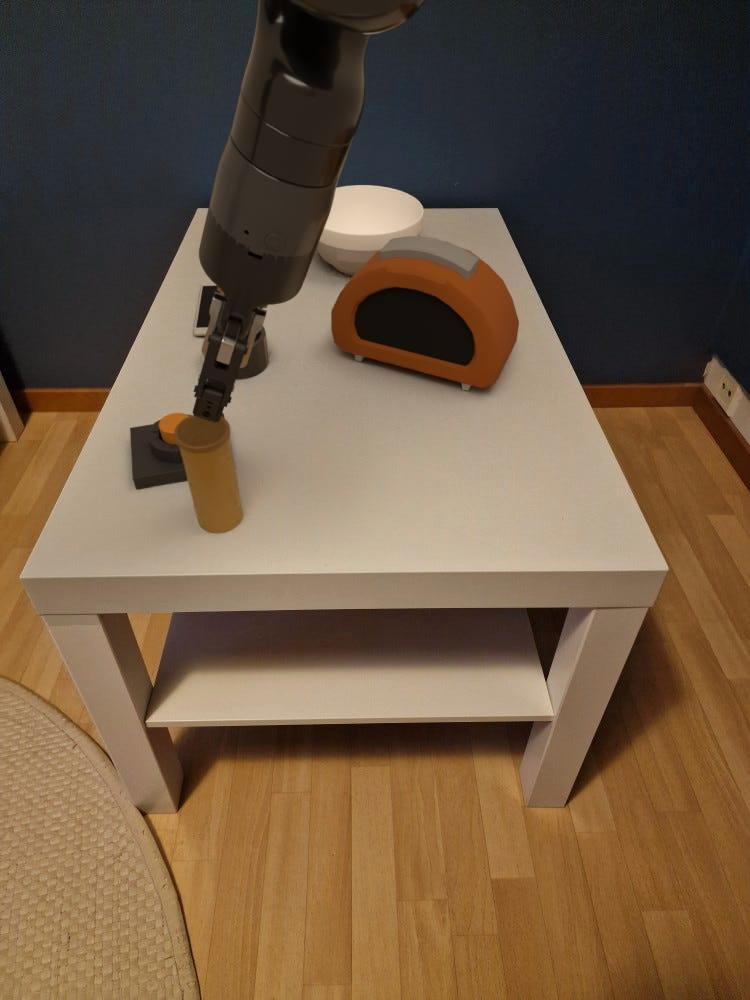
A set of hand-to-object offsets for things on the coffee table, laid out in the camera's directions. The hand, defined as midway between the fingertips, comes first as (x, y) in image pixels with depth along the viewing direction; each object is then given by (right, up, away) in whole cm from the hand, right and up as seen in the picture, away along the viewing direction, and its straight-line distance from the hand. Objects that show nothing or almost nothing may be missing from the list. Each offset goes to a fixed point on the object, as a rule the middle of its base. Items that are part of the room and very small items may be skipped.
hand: (217, 380), depth 58 cm
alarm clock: (+20, +9, +37) cm, 42 cm away
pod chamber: (-5, +9, +36) cm, 37 cm away
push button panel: (-9, -5, +22) cm, 25 cm away
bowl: (+11, +30, +57) cm, 65 cm away
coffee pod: (-3, -12, +16) cm, 20 cm away
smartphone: (-9, +18, +45) cm, 50 cm away
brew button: (-9, -3, +20) cm, 22 cm away
